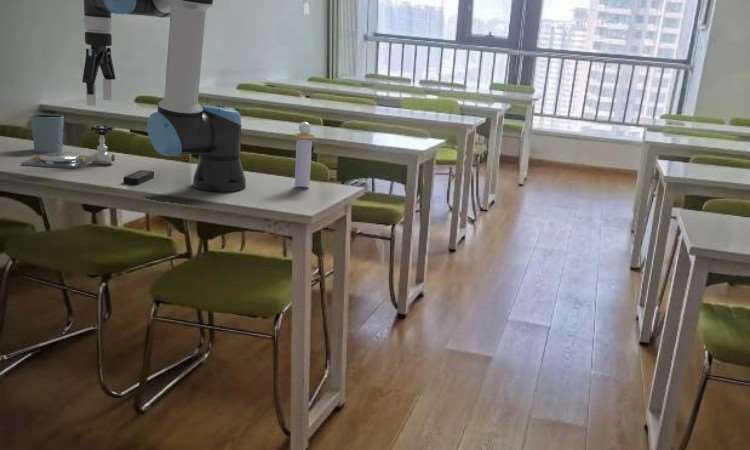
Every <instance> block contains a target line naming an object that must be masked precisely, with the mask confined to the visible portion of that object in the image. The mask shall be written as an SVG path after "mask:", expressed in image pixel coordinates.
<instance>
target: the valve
mask: <svg viewBox="0 0 750 450" xmlns="http://www.w3.org/2000/svg"><path fill="white" fill-rule="evenodd" d="M90 131H93V132H95V134H97V135H98V136H99V137H98V143H99V145H97V146H96V149H97V151H95V150H94V151H93V150H92V151H91V152H90V155H89V156H90V160H91V161H90V162H91V163H93V164H99V165H114V163H115V162H116V155H115V153H114V152H108V151H107V150H108V146H107V145H106V144H105V143H106V137H105V136H106V135H108V134H109V133H110V132H112V131H113V126H111V125H109V126H108V125H98V124H97V125H91V126H90Z"/></svg>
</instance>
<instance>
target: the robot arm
mask: <svg viewBox="0 0 750 450" xmlns="http://www.w3.org/2000/svg"><path fill="white" fill-rule="evenodd" d="M213 4H214V0H83V13H84V17H83V19H82V22H83V23H84V29H85V32H84V42H85V43H84V44H86V45H88V46H89V45H90V48H86V49H85V60H84V65H83V66H84V67H83V74H82V83H85V88H86V91H85V92H86V93H85V94H86V95H85V96H86V105H87V106H95V107H96V106H97V105H98V98H97V97H98V93H97V83H96V79H97V75H98V72H99V68H100V70H101V73H102V75H103V79H102V93H103V94H102V97H103V98H102V100H103V101H113V99H114V98H113V95H114V94H113V93H114V92H113V80H116V74H115V69H114V64H113V58H112V51H111V49H112V48H111V46H112V45H113V41H112V40H113V38H112V37H113V36H112V33H111V32H112V30H113V29H112V25H113V24H112V14H115V15H121V16H122V15H131V16H144V17H154V18H156V17H157V18H160V19H161V18H162V19H163V18H169V29H168V41H167V43H168V44H167V57H166V70H165V71H166V72H165V74H166V75H165V84H164V97H163V99H162V100H160V101H158V103H157V111H155V112H153V113H151V114H150V115H149V117H148V119H147V121H146V122H147V123H146V126H147V127H146V129H147V130H146V131H147V135H148V139H149V141H150V143H151V146H152V147H153V148H154V150H155V151H156V152H157V153H159V154H160V155H162V156H166V157H180V156H186V155H197V154H199V157H198V163H197V166H196V169H195V172H194V174H193V176H192V185H193V187H194V188H195V189H198V190H201V191H205V192H215V193H223V192H224V193H226V192H227V193H228V192H237V191H238V192H239V191H240V190H244V189H246V187H247V185H246V184H247V182H246V181H247V180H246V176H245V172H244V170H243V166H242V165H243V164H242V163H241V143H242V142H241V139H242V119H241V118H242V116H241V113H240V112H239V111H238V110H235V109H231V108H227V107H220V106H212V105H206V104H205V105H204V104H200V103H199V94H200V93H199V92H200V82H201V81H200V80H201V69H202V68H201V67H202V60H203V59H202V57H203V47H204V38H205V37H204V36H205V22H206V15H207V14H206V13H207V10H208V9H209V8H211V7H212V6H213Z"/></svg>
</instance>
